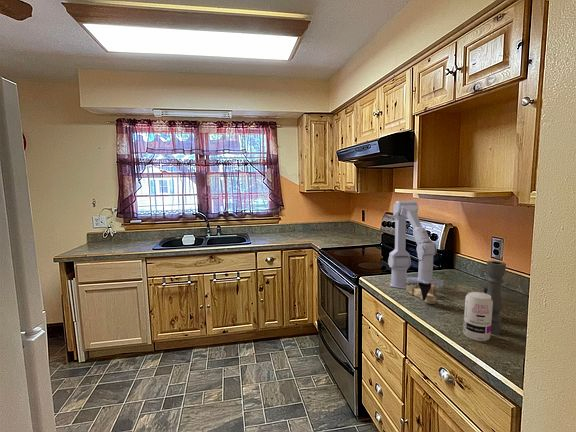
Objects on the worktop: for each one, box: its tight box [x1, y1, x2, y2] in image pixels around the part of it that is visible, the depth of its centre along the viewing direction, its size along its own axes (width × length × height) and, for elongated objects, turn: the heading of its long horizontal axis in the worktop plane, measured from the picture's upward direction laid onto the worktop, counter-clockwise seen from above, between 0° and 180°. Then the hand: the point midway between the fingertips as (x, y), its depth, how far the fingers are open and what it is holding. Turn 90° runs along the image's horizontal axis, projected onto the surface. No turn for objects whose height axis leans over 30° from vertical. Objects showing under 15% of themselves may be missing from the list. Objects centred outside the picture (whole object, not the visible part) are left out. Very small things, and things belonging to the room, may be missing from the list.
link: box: [405, 284, 437, 305], centre depth 149 cm, size 16×5×3 cm, turn 14°
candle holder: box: [485, 260, 507, 335], centre depth 116 cm, size 6×6×25 cm
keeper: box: [428, 284, 435, 295], centre depth 151 cm, size 3×6×5 cm, turn 142°
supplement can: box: [462, 291, 493, 342], centre depth 112 cm, size 8×8×15 cm
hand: (423, 299), depth 142 cm, fingers closed
